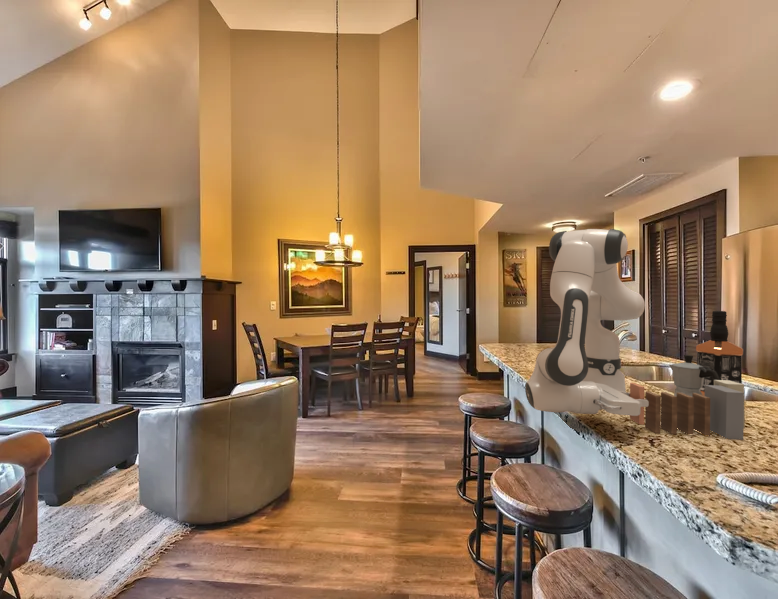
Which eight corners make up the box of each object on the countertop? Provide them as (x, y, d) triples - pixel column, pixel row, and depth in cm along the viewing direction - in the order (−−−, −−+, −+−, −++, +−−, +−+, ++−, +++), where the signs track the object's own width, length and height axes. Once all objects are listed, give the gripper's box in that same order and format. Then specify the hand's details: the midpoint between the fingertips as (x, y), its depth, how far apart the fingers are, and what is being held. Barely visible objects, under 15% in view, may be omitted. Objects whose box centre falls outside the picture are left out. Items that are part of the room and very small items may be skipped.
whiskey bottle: (746, 409, 124) (747, 311, 123) (716, 408, 124) (717, 311, 124) (719, 400, 134) (720, 310, 134) (691, 400, 134) (692, 310, 134)
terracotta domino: (639, 424, 101) (639, 386, 101) (629, 418, 106) (630, 382, 106) (644, 424, 101) (644, 387, 101) (634, 418, 106) (634, 383, 106)
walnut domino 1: (655, 433, 100) (655, 396, 100) (645, 427, 105) (645, 391, 105) (660, 433, 100) (660, 396, 100) (649, 427, 105) (650, 391, 105)
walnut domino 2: (671, 434, 100) (672, 396, 100) (660, 427, 105) (661, 391, 105) (676, 434, 100) (677, 396, 100) (665, 428, 105) (665, 392, 105)
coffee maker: (658, 406, 126) (658, 352, 126) (677, 404, 128) (677, 351, 128) (707, 420, 111) (708, 359, 111) (728, 417, 114) (728, 358, 114)
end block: (704, 428, 105) (704, 385, 105) (720, 428, 104) (720, 385, 104) (726, 438, 97) (726, 392, 97) (743, 439, 96) (743, 392, 96)
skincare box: (745, 428, 105) (746, 384, 105) (727, 427, 106) (727, 383, 106) (730, 421, 111) (730, 379, 111) (712, 419, 112) (713, 379, 112)
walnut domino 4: (704, 435, 99) (705, 397, 99) (692, 429, 104) (692, 393, 104) (709, 436, 99) (710, 398, 99) (696, 429, 104) (697, 393, 104)
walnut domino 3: (688, 435, 99) (688, 397, 99) (676, 428, 104) (676, 392, 104) (693, 435, 99) (693, 397, 99) (681, 428, 104) (681, 392, 104)
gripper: (603, 395, 95) (663, 397, 93) (574, 378, 115) (622, 380, 113) (603, 420, 95) (663, 423, 93) (573, 399, 115) (622, 401, 113)
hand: (640, 399), depth 103 cm, fingers closed on terracotta domino, 5 cm apart
